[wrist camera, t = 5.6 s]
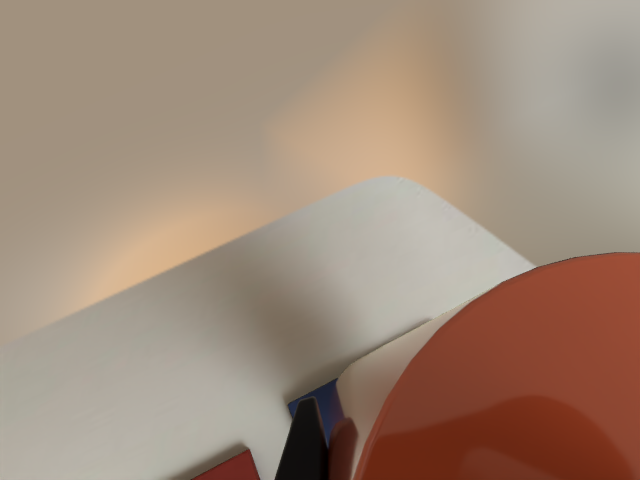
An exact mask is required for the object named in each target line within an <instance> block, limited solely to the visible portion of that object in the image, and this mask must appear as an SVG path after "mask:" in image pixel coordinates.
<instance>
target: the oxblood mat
mask: <svg viewBox="0 0 640 480" xmlns="http://www.w3.org/2000/svg"><path fill="white" fill-rule="evenodd" d="M191 480H260V478H259V475H258V472H257V469H256V466H255V463H254V460H253V457H252V455H251V452H250V449H248V450H246V451H244V452H242V453H240V454H238V455H236V456H235V457H233V458H231V459H229V460H227V461H225V462H223V463H221V464H219V465H218V466H216V467H214V468H212V469H210V470H208V471H206V472H204V473H202V474H201V475H199V476H197V477H195V478H193V479H191Z"/></svg>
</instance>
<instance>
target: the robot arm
mask: <svg viewBox="0 0 640 480" xmlns="http://www.w3.org/2000/svg"><path fill="white" fill-rule="evenodd" d="M275 480H328V445H327V440H326V435H325V430H324V426H323V421H322V418H321V414H320V410H319V407H318V403H317V400H316V398H315V397H314V396H312V397H308V398H305V399H301V400H300V401H299V402H298V405H297V408H296V411H295V414H294V418H293V421H292V424H291V427H290V431H289V434H288V437H287V441H286V444H285V447H284V450H283V454H282V457H281V460H280V463H279V467H278V470H277V473H276V476H275Z"/></svg>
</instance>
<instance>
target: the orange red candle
mask: <svg viewBox="0 0 640 480" xmlns="http://www.w3.org/2000/svg"><path fill="white" fill-rule="evenodd" d="M328 480H640V253H624V252H623V253H622V252H618V253H617V252H614V253H606V254H597V255H589V256H581V257H574V258H570V259H567V260H562V261H559V262H555V263H551V264H547V265H543V266H539V267H536V268H534V269H532V270H529V271H527V272H525V273H522V274H520V275H518V276H515V277H513V278H510V279H508V280H506V281H503V282H501V283H499V284H498V285H496V286H494V287H492V288H490V289H488V290H486V291H485V292H483V293H481V294H479V295H477V296H475V297H473V298H471V299H470V300H468V301H466V302H464V303H462V304H460V305H458V306H457V307H455V308H453V309H451V310H449V311H447V312H445V313H443V314H442V315H440V316H438V317H436V318H434V319H432V320H430V321H428V322H427V323H425V324H423V325H421V326H419V327H417V328H415V329H414V330H412V331H410V332H408V333H406V334H404V335H402V336H400V337H399V338H397V339H395V340H393V341H391V342H389V343H387V344H386V345H384V346H382V347H380V348H378V349H376V350H374V351H372V352H371V353H369V354H367V355H365V356H363V357H361V358H359V359H358V360H356V361H354V362H353V363H352V364H351V365H349V366H348V367H347V368H346V369H345V370H344V371H343V372H342V374H341V375H340V377H339V378H338V380H337V382H336V384H335V386H334V388H333V391H332V394H331V398H330V403H329V429H328Z"/></svg>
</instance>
